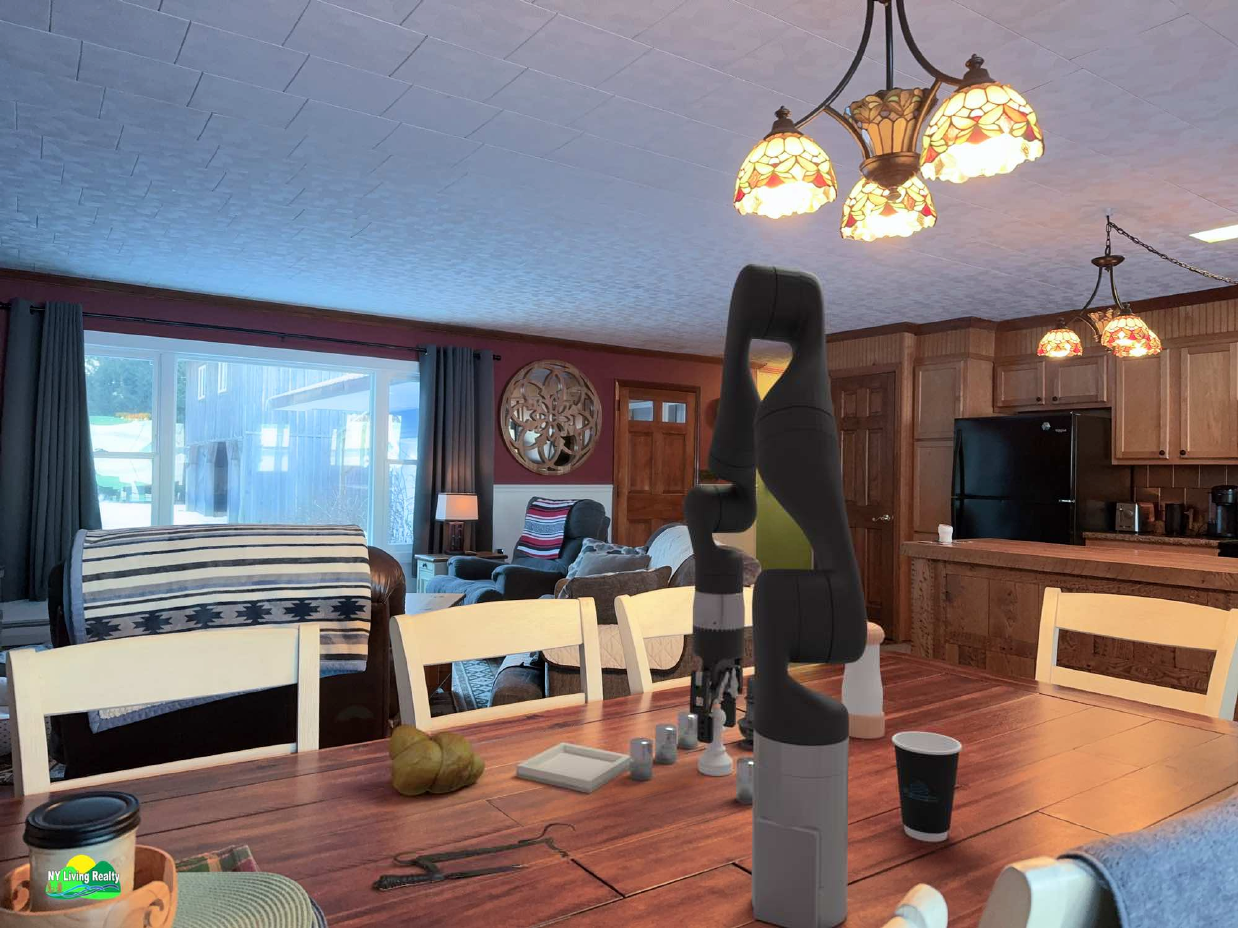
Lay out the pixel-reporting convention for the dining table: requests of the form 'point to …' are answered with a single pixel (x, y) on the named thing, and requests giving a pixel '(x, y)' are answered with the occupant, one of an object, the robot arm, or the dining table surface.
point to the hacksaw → (435, 873)
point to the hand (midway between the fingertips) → (717, 733)
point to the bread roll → (431, 761)
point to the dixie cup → (926, 782)
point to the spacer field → (686, 740)
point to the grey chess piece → (748, 718)
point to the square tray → (574, 767)
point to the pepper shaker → (865, 689)
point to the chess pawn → (716, 751)
